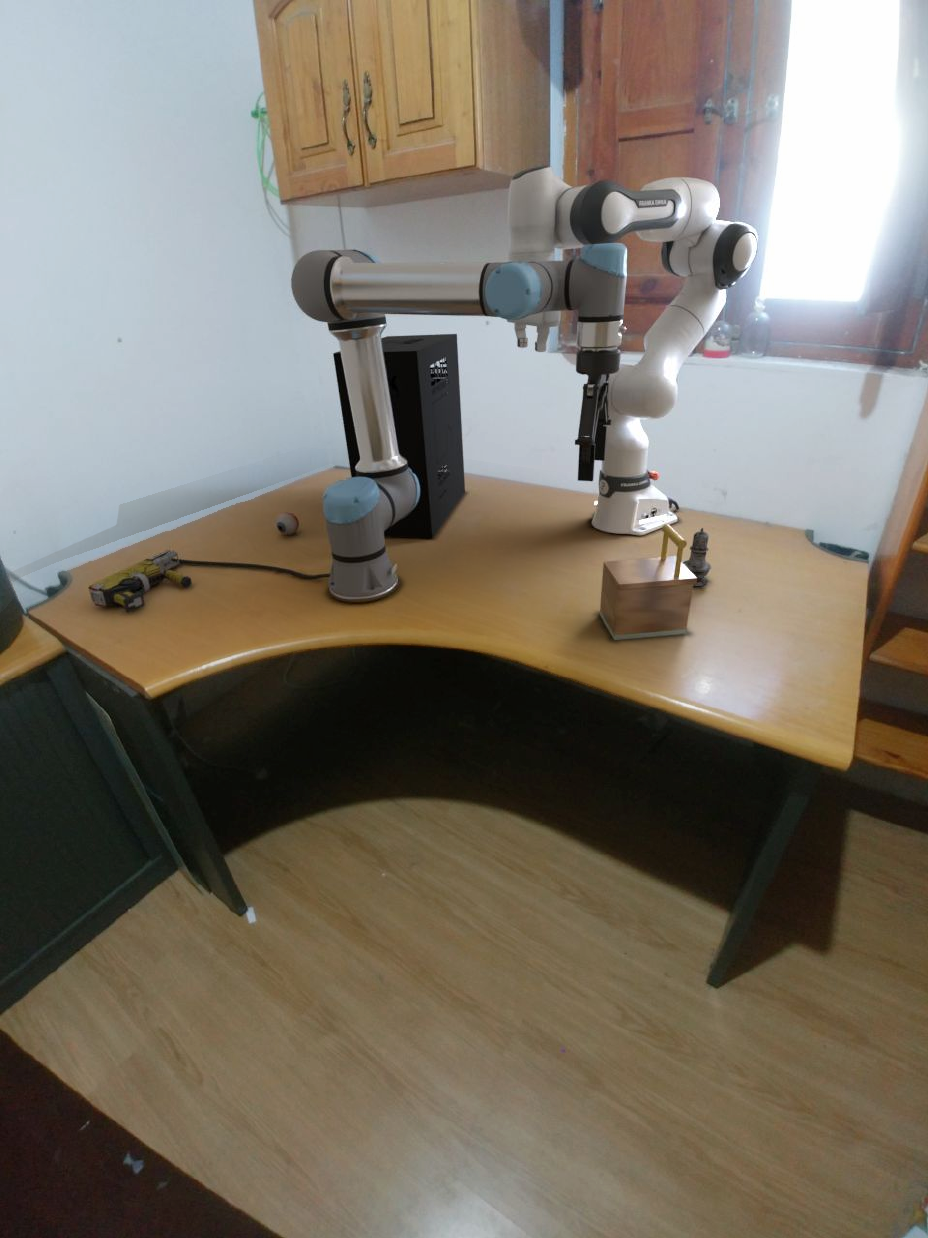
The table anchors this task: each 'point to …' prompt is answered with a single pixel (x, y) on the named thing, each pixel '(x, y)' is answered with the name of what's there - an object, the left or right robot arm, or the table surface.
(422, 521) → the black box
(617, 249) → the left robot arm
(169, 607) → the table surface
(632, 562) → the lid
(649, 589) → the chest
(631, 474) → the right robot arm
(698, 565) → the salt shaker
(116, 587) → the toy gun
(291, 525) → the eyeball
